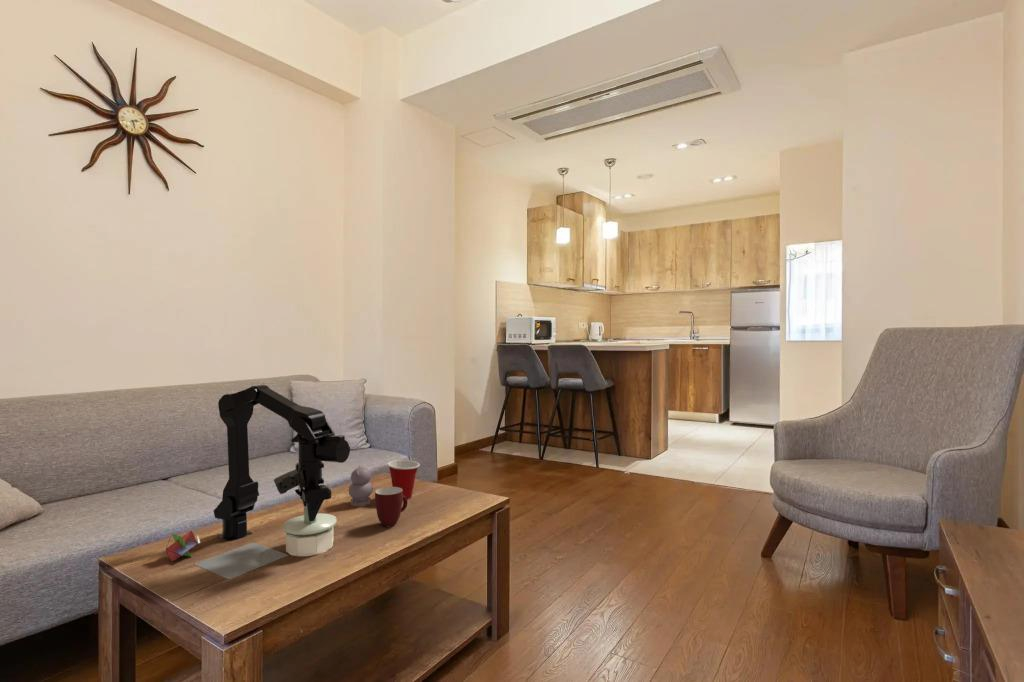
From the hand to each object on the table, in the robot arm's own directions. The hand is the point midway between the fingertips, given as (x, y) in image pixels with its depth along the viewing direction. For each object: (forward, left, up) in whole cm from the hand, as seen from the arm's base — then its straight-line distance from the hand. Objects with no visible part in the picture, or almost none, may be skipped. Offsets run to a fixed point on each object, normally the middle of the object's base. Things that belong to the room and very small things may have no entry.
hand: (310, 519), depth 132 cm
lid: (0, 0, -2) cm, 2 cm away
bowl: (0, 0, -8) cm, 8 cm away
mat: (-8, -13, -8) cm, 17 cm away
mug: (+5, +25, -8) cm, 26 cm away
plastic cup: (-9, +45, -8) cm, 46 cm away
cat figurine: (-17, +33, -8) cm, 38 cm away
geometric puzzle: (-22, -20, -8) cm, 31 cm away
